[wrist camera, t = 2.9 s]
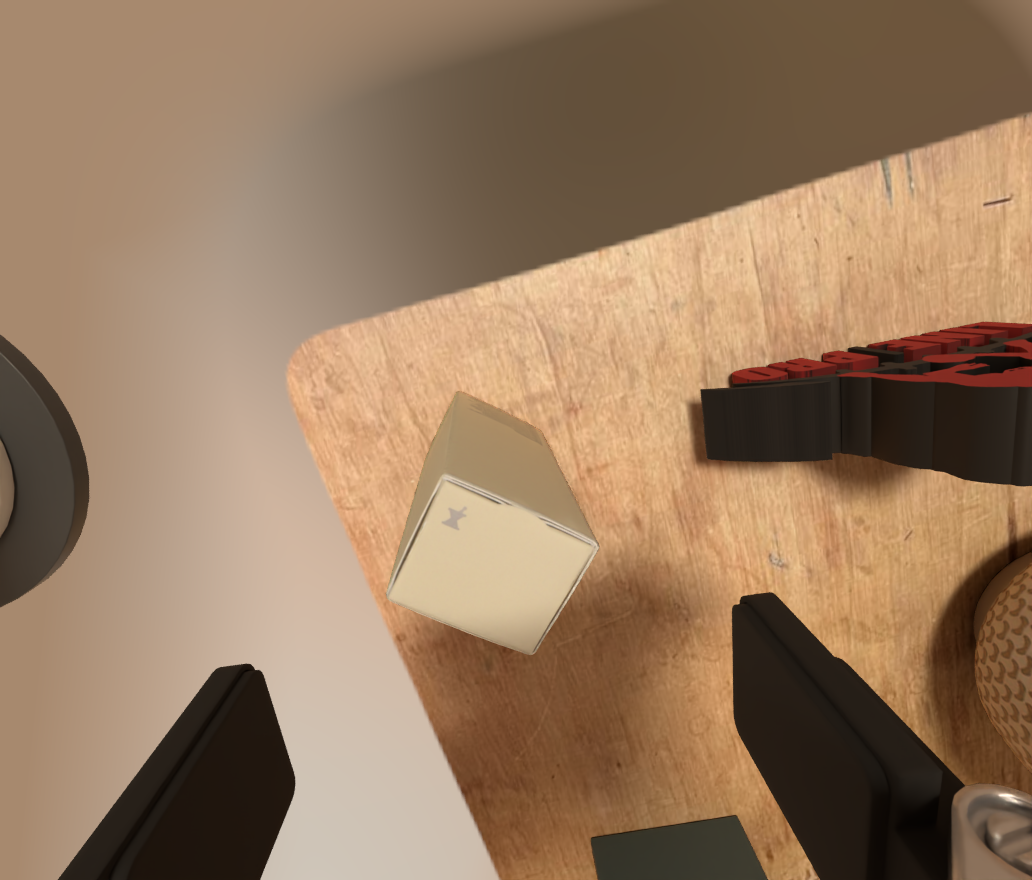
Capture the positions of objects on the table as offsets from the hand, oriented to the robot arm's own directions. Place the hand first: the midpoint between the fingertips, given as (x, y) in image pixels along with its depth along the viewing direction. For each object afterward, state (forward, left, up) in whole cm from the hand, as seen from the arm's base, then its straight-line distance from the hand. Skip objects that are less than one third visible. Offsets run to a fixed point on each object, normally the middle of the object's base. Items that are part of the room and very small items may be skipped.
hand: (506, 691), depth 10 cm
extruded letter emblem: (+19, +1, -18) cm, 26 cm away
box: (0, 0, -18) cm, 18 cm away
